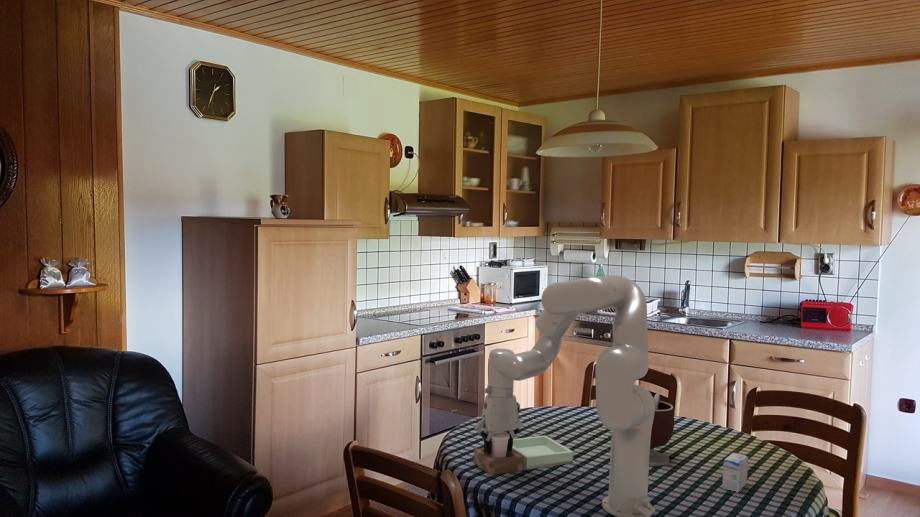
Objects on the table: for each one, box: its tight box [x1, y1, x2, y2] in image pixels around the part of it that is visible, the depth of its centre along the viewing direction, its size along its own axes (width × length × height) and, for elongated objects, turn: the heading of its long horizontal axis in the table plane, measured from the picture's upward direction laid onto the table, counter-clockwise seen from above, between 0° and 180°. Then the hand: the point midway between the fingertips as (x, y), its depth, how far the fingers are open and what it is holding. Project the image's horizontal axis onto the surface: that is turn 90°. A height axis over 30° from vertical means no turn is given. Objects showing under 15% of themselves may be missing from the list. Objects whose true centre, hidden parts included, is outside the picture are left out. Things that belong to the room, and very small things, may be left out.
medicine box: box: [721, 452, 749, 493], centre depth 181 cm, size 8×4×9 cm, turn 141°
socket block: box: [473, 447, 523, 476], centre depth 191 cm, size 11×11×4 cm
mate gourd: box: [649, 389, 675, 467], centre depth 202 cm, size 16×14×20 cm
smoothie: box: [490, 432, 510, 459], centre depth 190 cm, size 6×6×14 cm
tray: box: [512, 435, 574, 470], centre depth 200 cm, size 16×16×4 cm
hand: (498, 450), depth 191 cm, fingers closed on smoothie, 6 cm apart
